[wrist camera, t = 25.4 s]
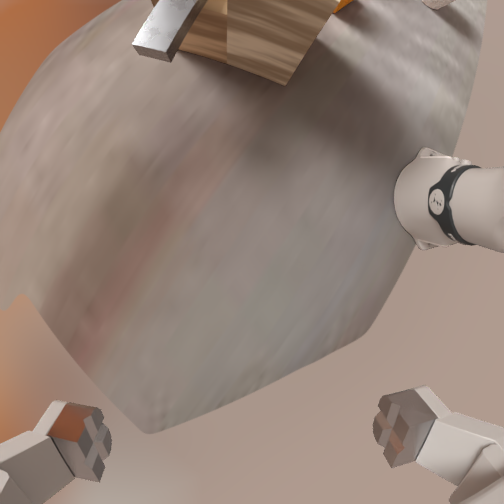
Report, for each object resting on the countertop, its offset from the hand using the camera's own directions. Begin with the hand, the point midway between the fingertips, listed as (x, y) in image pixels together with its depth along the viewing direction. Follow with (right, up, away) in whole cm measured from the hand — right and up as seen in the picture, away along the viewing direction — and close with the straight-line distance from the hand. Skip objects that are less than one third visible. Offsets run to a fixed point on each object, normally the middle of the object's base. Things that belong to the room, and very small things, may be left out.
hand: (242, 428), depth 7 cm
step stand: (-1, +40, +33) cm, 52 cm away
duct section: (-6, +35, +18) cm, 39 cm away
